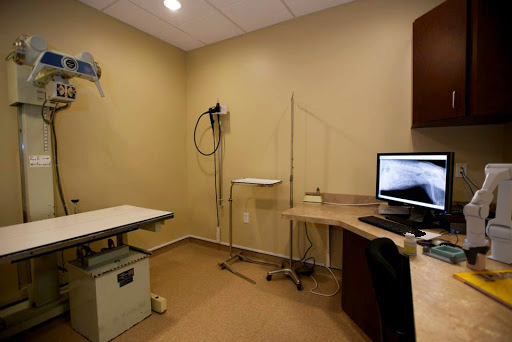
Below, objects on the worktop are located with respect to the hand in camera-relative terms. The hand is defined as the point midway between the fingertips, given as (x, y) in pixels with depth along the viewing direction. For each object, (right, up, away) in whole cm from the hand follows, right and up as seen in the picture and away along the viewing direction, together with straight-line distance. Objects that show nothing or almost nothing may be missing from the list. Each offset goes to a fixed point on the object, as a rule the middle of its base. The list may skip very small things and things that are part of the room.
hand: (475, 263), depth 102 cm
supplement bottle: (-17, -2, +17) cm, 24 cm away
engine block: (0, -2, 0) cm, 2 cm away
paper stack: (+7, -1, +39) cm, 40 cm away
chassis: (-1, -1, +14) cm, 14 cm away
